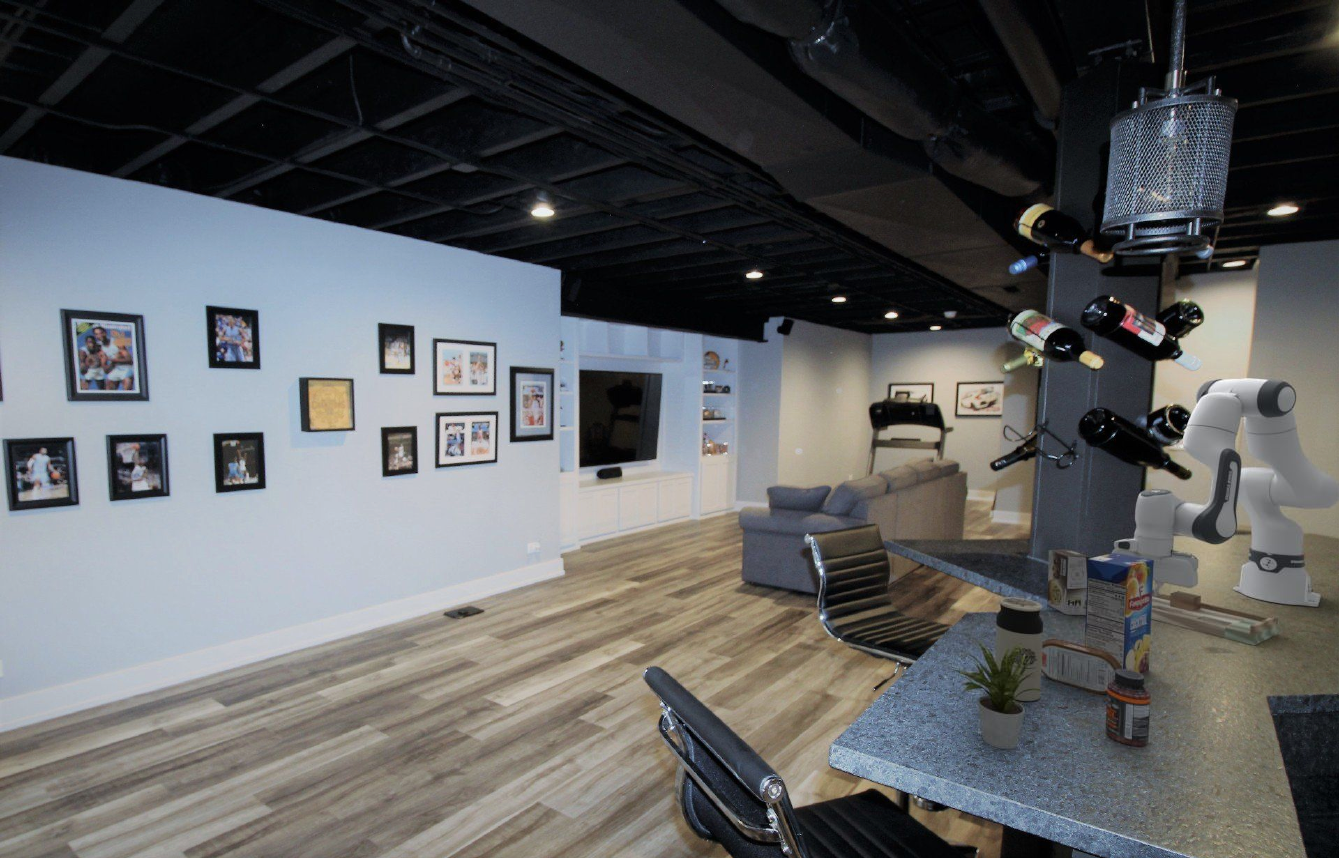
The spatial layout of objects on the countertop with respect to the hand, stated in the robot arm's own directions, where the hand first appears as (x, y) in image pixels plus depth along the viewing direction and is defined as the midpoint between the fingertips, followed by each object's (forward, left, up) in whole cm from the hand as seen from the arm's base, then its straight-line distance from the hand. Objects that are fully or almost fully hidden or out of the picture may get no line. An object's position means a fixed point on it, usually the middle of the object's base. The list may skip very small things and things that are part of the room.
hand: (1151, 595), depth 177 cm
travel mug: (+86, +12, -4) cm, 87 cm away
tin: (+72, +16, -4) cm, 74 cm away
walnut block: (0, +8, -1) cm, 8 cm away
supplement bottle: (+86, +31, -4) cm, 92 cm away
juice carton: (+56, +16, -4) cm, 58 cm away
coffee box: (+23, -11, -4) cm, 26 cm away
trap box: (+3, +11, -4) cm, 12 cm away
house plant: (+105, +20, -4) cm, 107 cm away
